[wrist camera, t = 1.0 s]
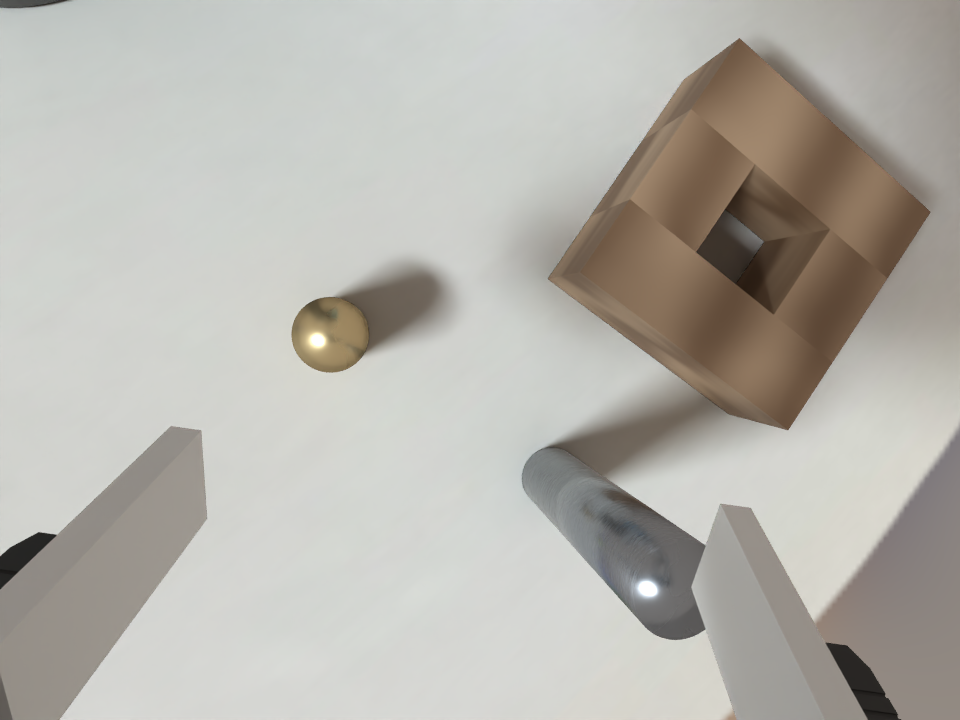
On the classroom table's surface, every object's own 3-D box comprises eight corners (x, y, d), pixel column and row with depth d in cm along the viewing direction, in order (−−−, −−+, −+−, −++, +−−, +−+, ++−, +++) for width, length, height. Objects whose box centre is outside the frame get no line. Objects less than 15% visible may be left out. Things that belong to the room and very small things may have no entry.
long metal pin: (521, 449, 33) (633, 545, 19) (579, 445, 33) (728, 536, 20) (522, 508, 33) (633, 645, 19) (579, 503, 33) (726, 633, 20)
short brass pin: (301, 300, 30) (289, 297, 26) (367, 299, 31) (367, 296, 26) (303, 365, 30) (292, 373, 26) (369, 363, 31) (369, 371, 27)
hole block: (547, 278, 32) (580, 272, 27) (683, 79, 33) (739, 38, 28) (728, 414, 35) (788, 430, 30) (852, 226, 35) (930, 211, 30)
